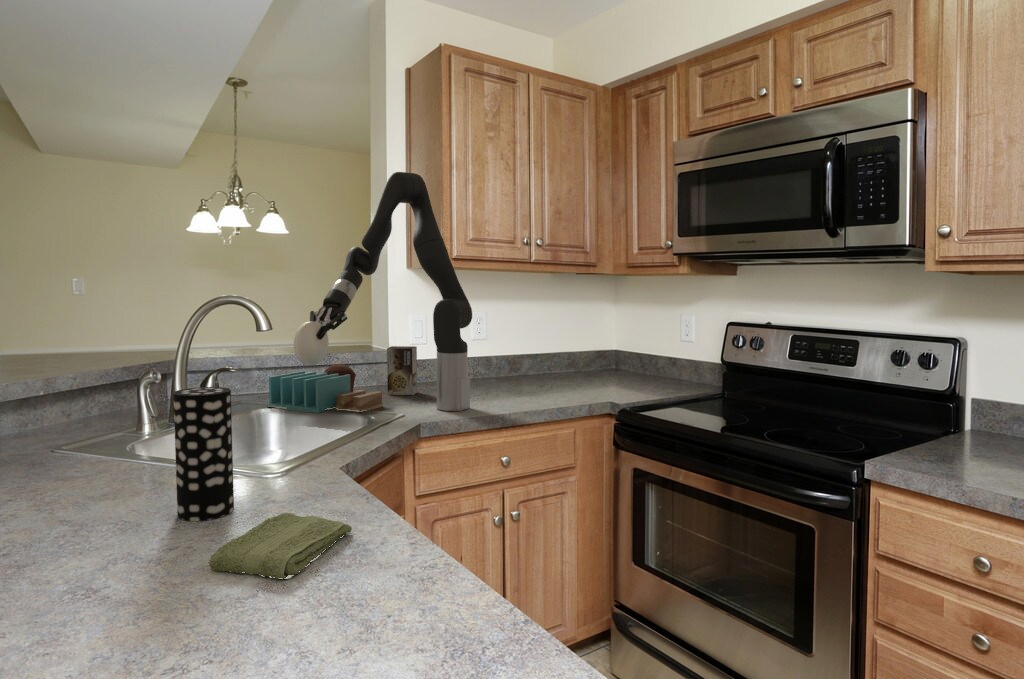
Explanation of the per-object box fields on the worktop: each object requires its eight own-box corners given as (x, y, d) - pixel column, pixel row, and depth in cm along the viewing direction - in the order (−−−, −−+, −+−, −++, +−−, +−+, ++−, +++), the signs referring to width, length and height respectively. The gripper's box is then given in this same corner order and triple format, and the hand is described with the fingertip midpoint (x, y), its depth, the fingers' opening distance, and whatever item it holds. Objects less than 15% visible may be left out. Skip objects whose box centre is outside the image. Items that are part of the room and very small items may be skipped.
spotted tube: (241, 503, 109) (238, 387, 107) (221, 521, 101) (217, 395, 99) (192, 503, 109) (188, 386, 107) (167, 521, 100) (163, 395, 99)
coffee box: (417, 392, 222) (417, 346, 221) (413, 395, 216) (412, 348, 215) (392, 391, 223) (391, 345, 222) (386, 394, 217) (386, 347, 215)
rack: (352, 403, 200) (352, 374, 199) (318, 412, 185) (317, 381, 184) (303, 398, 207) (303, 370, 207) (267, 407, 193) (266, 377, 192)
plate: (328, 362, 198) (328, 320, 197) (299, 367, 186) (298, 322, 185) (323, 362, 199) (322, 320, 198) (294, 366, 187) (293, 322, 186)
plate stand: (382, 406, 196) (382, 391, 196) (360, 412, 186) (360, 397, 186) (358, 404, 200) (358, 389, 199) (335, 410, 189) (335, 395, 189)
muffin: (316, 393, 218) (315, 364, 217) (346, 390, 225) (346, 362, 224) (331, 398, 208) (330, 368, 208) (362, 395, 216) (362, 365, 215)
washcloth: (356, 534, 97) (356, 513, 97) (289, 587, 80) (289, 562, 80) (279, 525, 100) (279, 505, 100) (199, 575, 83) (199, 551, 83)
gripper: (317, 287, 204) (290, 328, 193) (352, 288, 198) (327, 330, 188) (328, 304, 209) (303, 344, 199) (363, 305, 204) (339, 346, 193)
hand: (315, 337), depth 193 cm, fingers closed on plate, 2 cm apart
